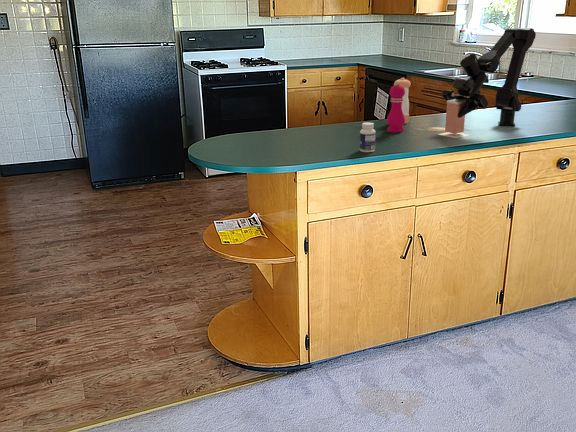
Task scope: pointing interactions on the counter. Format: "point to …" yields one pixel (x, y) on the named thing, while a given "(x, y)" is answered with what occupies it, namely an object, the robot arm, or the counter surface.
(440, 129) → the cork coaster
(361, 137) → the pill bottle
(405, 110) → the salt shaker
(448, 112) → the tea tin
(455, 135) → the tile
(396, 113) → the pepper mill
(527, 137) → the counter surface
